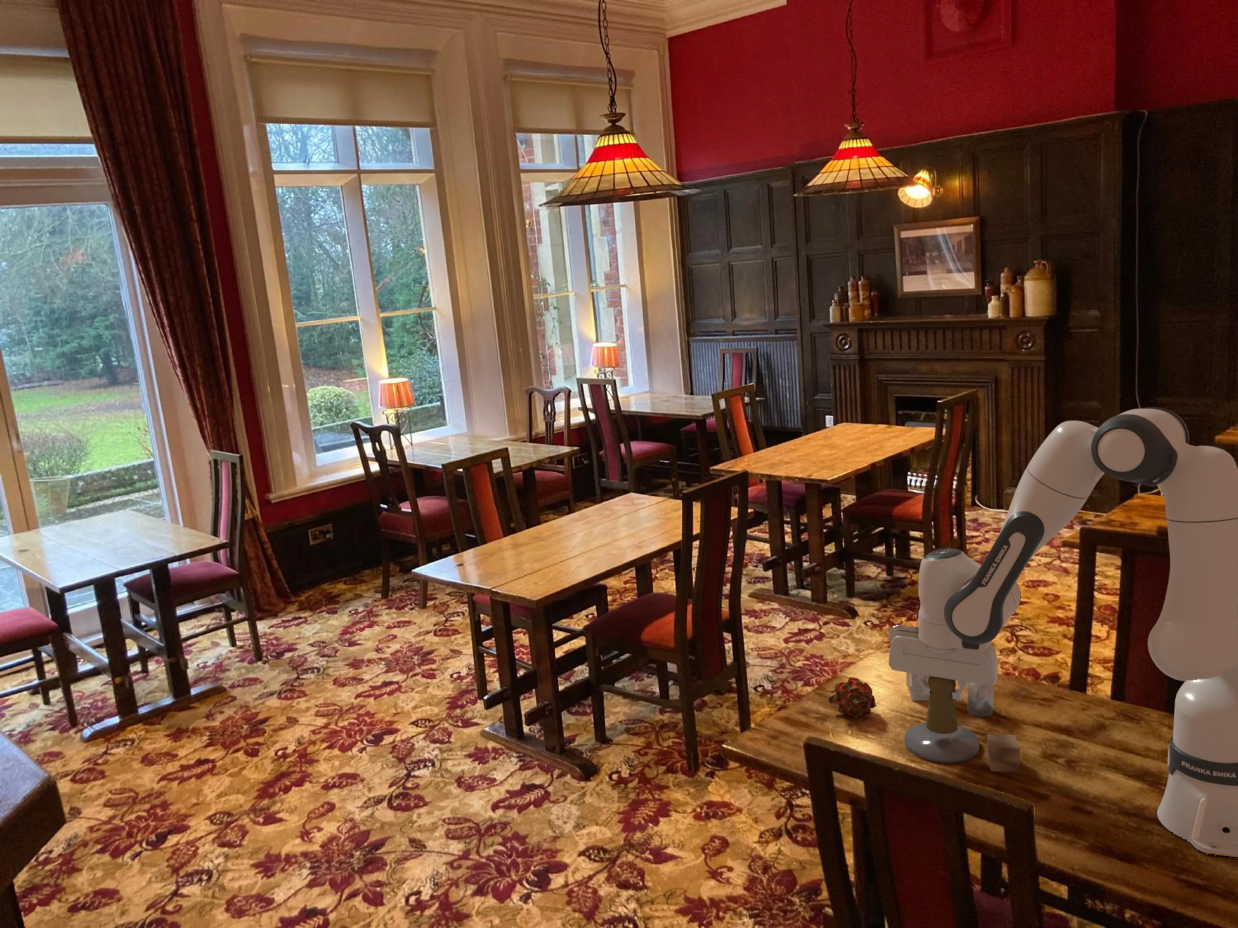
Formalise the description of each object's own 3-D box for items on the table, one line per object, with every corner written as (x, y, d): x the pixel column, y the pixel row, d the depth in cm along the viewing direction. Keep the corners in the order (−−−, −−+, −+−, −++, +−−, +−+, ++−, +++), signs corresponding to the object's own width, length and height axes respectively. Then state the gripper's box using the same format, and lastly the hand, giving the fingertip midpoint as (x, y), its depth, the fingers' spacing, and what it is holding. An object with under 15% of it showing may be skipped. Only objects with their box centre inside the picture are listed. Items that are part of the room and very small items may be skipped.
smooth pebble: (985, 735, 194) (985, 730, 194) (970, 768, 183) (970, 763, 182) (914, 722, 201) (914, 716, 201) (896, 753, 190) (896, 747, 189)
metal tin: (995, 709, 205) (996, 678, 203) (988, 718, 201) (990, 687, 199) (971, 703, 207) (972, 673, 206) (964, 713, 203) (965, 682, 202)
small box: (906, 685, 218) (905, 641, 216) (931, 684, 217) (931, 641, 215) (911, 701, 211) (911, 656, 208) (938, 701, 210) (938, 655, 208)
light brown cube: (1014, 758, 185) (1014, 734, 184) (1019, 772, 180) (1020, 748, 179) (986, 757, 186) (987, 733, 185) (991, 771, 181) (991, 747, 180)
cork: (953, 718, 194) (953, 667, 192) (961, 733, 188) (961, 681, 186) (922, 719, 194) (922, 668, 192) (929, 734, 189) (929, 681, 186)
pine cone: (866, 734, 201) (837, 717, 212) (893, 704, 202) (863, 689, 214) (842, 707, 199) (814, 691, 211) (869, 677, 201) (840, 663, 212)
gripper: (883, 628, 190) (884, 694, 193) (994, 644, 179) (993, 713, 182) (892, 617, 195) (893, 681, 198) (1000, 632, 184) (999, 699, 187)
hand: (942, 696), depth 190 cm, fingers closed on cork, 4 cm apart
